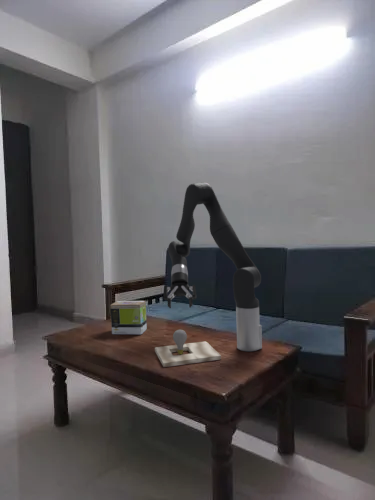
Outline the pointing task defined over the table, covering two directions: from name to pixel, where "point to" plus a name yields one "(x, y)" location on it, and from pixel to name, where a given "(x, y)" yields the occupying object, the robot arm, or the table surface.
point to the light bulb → (179, 340)
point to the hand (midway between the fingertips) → (180, 306)
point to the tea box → (128, 317)
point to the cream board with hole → (197, 350)
